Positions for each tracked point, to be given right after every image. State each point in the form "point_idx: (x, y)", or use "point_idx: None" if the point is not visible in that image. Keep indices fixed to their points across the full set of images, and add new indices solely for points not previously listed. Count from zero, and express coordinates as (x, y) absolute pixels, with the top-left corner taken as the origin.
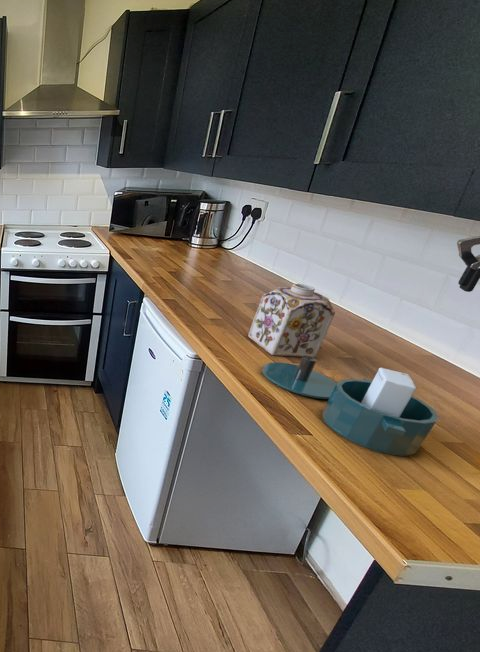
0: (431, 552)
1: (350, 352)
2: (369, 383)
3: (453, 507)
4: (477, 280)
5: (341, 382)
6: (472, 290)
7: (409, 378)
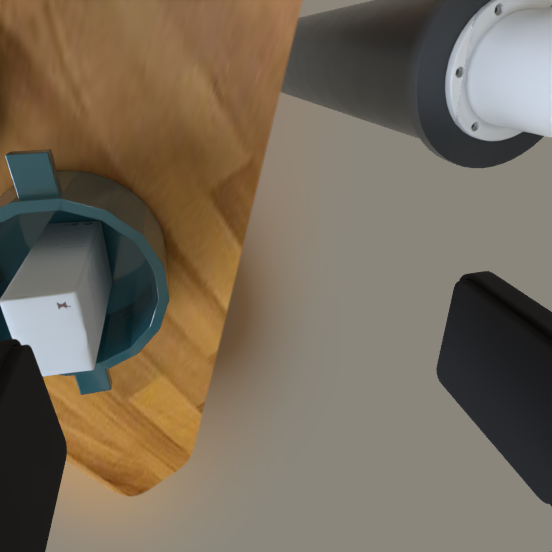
0: (156, 476)
1: None
2: (21, 213)
3: (191, 385)
4: (39, 545)
5: None
6: (65, 456)
7: (78, 322)
